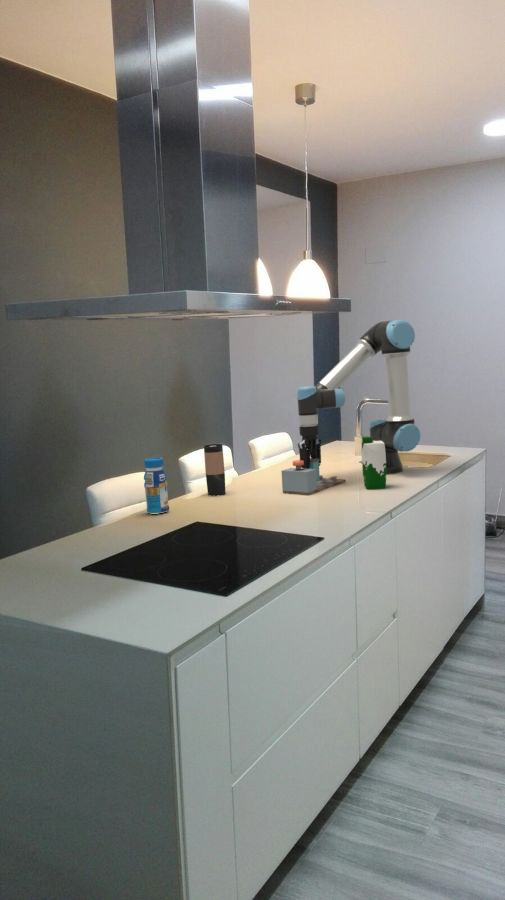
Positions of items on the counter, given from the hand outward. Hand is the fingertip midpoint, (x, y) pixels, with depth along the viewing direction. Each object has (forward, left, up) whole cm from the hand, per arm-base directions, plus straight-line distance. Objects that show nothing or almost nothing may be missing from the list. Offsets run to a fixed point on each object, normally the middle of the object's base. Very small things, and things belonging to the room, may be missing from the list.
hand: (312, 483), depth 289 cm
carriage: (0, 0, -1) cm, 1 cm away
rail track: (-2, 0, -2) cm, 3 cm away
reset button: (+9, 0, +7) cm, 11 cm away
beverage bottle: (+57, -30, -2) cm, 64 cm away
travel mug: (+23, -31, -2) cm, 39 cm away
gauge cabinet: (+9, 0, -2) cm, 9 cm away
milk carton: (-10, +23, -2) cm, 25 cm away
